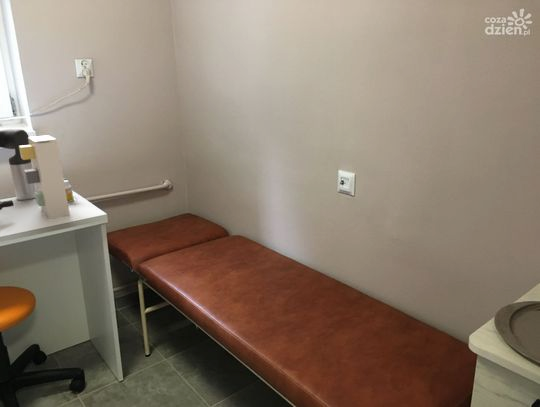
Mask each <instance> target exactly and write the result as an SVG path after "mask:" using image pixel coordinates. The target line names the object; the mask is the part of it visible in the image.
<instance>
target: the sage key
mask: <svg viewBox="0 0 540 407" xmlns="http://www.w3.org/2000/svg"><path fill="white" fill-rule="evenodd" d="M35 197H36V198H35V200H36V204H37V206H38V207H41V206H44V205H45V204H44V199H43V194H42V192H41V191H38V190H37V192H35Z"/></svg>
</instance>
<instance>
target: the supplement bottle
mask: <svg viewBox="0 0 540 407" xmlns="http://www.w3.org/2000/svg"><path fill="white" fill-rule="evenodd" d="M64 184H65V190H66V196H67V202H68V203H71V202H73V201H74V196H73V189H72V186H71V184H70V181H69V180H68V179H67V180H64Z"/></svg>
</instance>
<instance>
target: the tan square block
mask: <svg viewBox="0 0 540 407" xmlns="http://www.w3.org/2000/svg"><path fill="white" fill-rule="evenodd" d="M19 149H20V154H21V158H22V159H23V160H27V159H31V160H32V159H35V158H36V157H35V152H34V147H33V145H22V146H19Z"/></svg>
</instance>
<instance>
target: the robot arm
mask: <svg viewBox="0 0 540 407" xmlns="http://www.w3.org/2000/svg"><path fill="white" fill-rule="evenodd" d="M28 137H30V136H29V134H28V132H27V131H25V130H24V129H19V128H17V129H11V128H10V129H2V130H1V129H0V148H3V149H8V150H14V155H13V156H11V157H9V158H8V163H9V168H10V172H11V177H12V182H13V188H14V192H15V197H16V200H19V201H23V200H24V201H25V200H32V199H36V197H35V192H38V188H37V183H32V184H28V183H27V182H26V179H25V174H24V170H26V169H33V168H34V167H33V162H32V159H27V160H23V159H22V158H21V154H20V149H19V146H22V145H29V141H28ZM9 207H14V201H13V200H12V199H11V200H4V201H1V200H0V211H2V210H3V209H5V208H9Z"/></svg>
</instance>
